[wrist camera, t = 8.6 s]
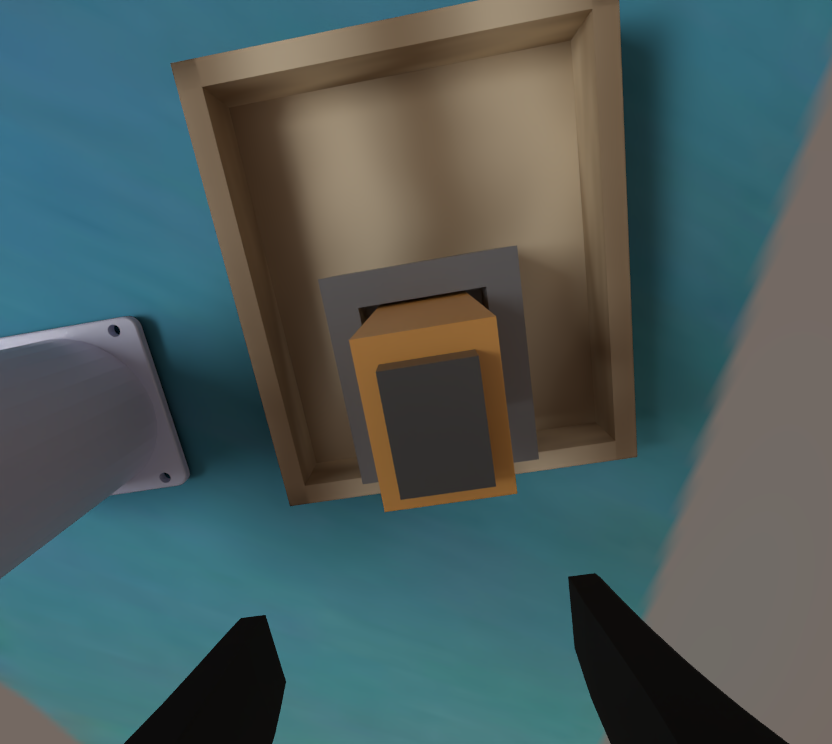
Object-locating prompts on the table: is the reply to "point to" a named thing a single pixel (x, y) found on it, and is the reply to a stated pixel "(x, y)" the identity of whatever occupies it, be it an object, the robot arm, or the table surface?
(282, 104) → the walled box
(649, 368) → the table surface
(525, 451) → the inlet socket
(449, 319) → the plug
